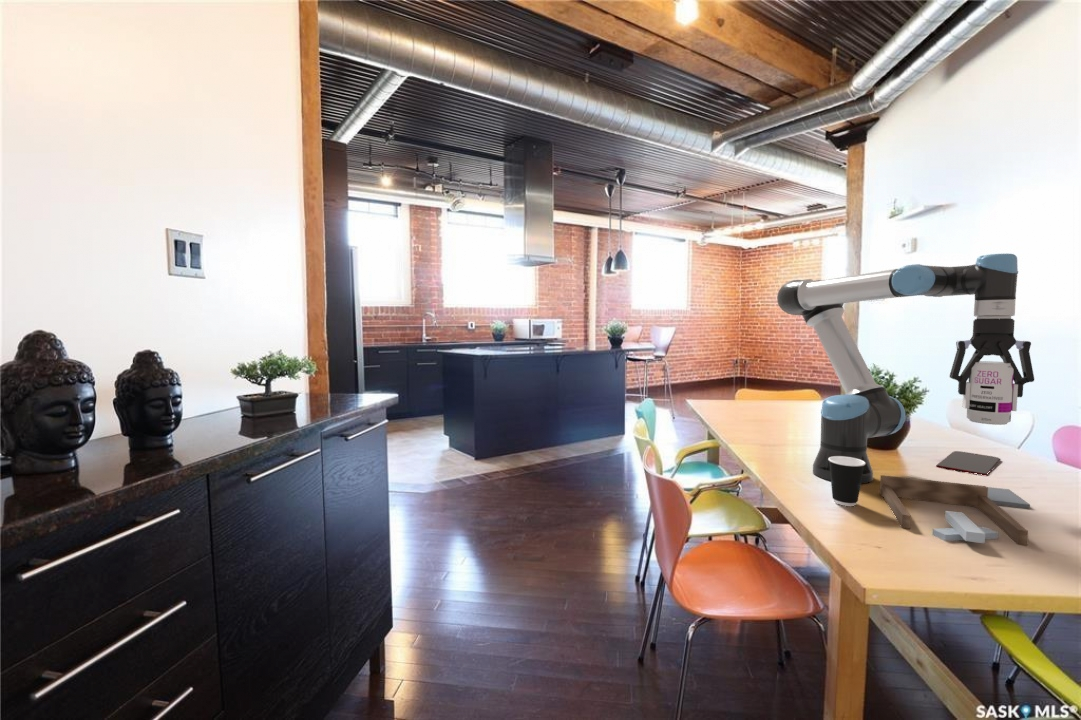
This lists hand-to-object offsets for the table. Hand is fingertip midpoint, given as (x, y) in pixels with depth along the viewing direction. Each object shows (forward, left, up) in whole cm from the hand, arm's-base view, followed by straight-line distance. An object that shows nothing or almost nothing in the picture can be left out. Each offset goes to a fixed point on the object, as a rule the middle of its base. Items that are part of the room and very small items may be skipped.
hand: (988, 408), depth 124 cm
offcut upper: (-12, -29, -22) cm, 38 cm away
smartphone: (+8, +39, -24) cm, 46 cm away
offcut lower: (-11, -28, -24) cm, 39 cm away
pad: (+2, +3, -23) cm, 24 cm away
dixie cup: (-32, -17, -24) cm, 43 cm away
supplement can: (0, 0, -3) cm, 3 cm away
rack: (-12, -17, -23) cm, 31 cm away
